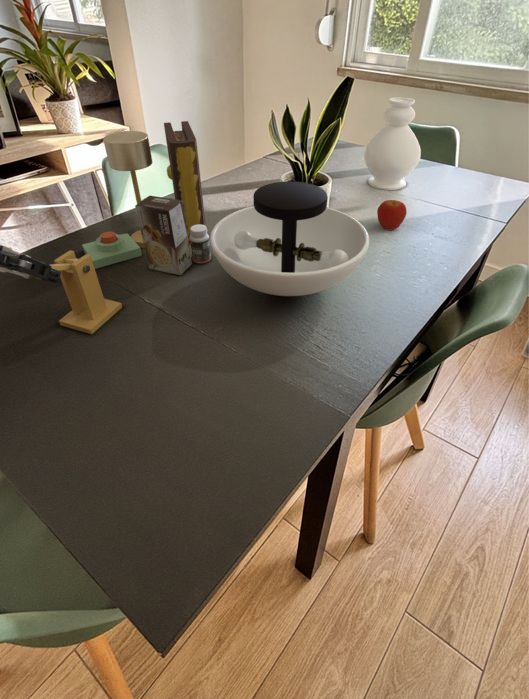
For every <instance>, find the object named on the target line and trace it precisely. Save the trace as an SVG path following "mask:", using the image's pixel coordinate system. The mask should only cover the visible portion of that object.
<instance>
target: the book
mask: <svg viewBox="0 0 529 699" xmlns="http://www.w3.org/2000/svg"><path fill="white" fill-rule="evenodd" d="M180 124H181V130H174V129H173V125H172V123H171V121H170V122H169V121H168V122H163V129H164V135H165V140H166V147H167V149H166V150H167V154H168V161H169V164H168V165H167V167H166V175H167V178H168V179H170V181H171V182H172V187H173V188H172V189H173V195H174V199H176V200H182V201H183V206H184V213H185V220H186V226H187V233H188V240H189V245H190V235H191V232H190V228H191V227H192V226H194V225H198V224H201V225H205V226H206V216H205V208H204V198H203V197H204V196H203V189H202V180H201V171H200V161H199V160H200V159H199V152H198V143H197V138H196V135H195V134H194V131H193V130H192V127H191V125H190V123H189V120H183V121H181V122H180Z"/></svg>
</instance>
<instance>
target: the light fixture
mask: <svg viewBox="0 0 529 699" xmlns="http://www.w3.org/2000/svg"><path fill="white" fill-rule="evenodd" d="M252 197H253V198H252V199H253V205H251V206H247V207H244V208H241V209H239V210H236V211H234V212H231V213H229V214H228V215H226V216H225V217H223V218H221V219H220V220H218V222H217V223H216V224H215V225H214V226H213V228H212V230H211V232H210V236H209V241H210V248H211V251H212V253H213V255H214V257H215V258H216V260H217V262H218V263H219V264H220V266H221V267H222V268H223V270H224V271H225V272H226V273H227V274H228V275H229V276H230V277H231V278H233V280H236V281H237V282H238V283H240V284H241V285H243V286H245V287H247V288H249V289H251V290H254V291H256V292H259V293H263V294H267V295H273V296H279V297H299V296H309V295H312V294H317V293H320V292H323V291H326V290H328V289H330V288H332V287H335V286H336V285H338V284H340V283H341V282H343V281H344V280H346V279H347V278H349V277H350V276H351V275H352V274H353V273H354V271H355V270H356V269H357V268H358V267H359V266H360V265H361V263H362V262H363V260H364V258H365V256H366V254H367V252H368V250H369V246H370V236H369V233H368V230H367V229H366V228H365V226H364V225H363V224H362V223H360V221H358V220H357V219H356V218H354V217H352V216H351V215H349V214H347V213H345V212H343V211H340V210H338V209H335V208H332V207H328V198H329V197H328V193H327V191H325V189H324V188H322V187H320V186H318V185H315V184H312V183H308V182H303V181H277V182H272V183H268V184H265V185H262V186H260V187H259V188H257V189H256V190H255V191H254V193H253V196H252Z"/></svg>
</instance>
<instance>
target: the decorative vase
mask: <svg viewBox="0 0 529 699" xmlns="http://www.w3.org/2000/svg"><path fill="white" fill-rule="evenodd" d="M415 102H416V100H415V99H414V98H411V97H404V96H395V97H390V98H389V99H388V103H389V104H390V106H388V107H387V108H386V109H385V110H384V112H383V119H384V120H385V121H386V123H387V124H385V125H384V126H382V128H381V129H379V130H378V131H377V132H376V133H375V134H374V135H373V136H372V138H371V139H370V140H369V141H368V142H367V145H366V146H365V150H364V153H363V159H364V163H365V165H366V167H367V169H368V171H369V172H370V174H371V175H372V176H371V177H369V178H368V179H367V180H368V181H367V182H368V185H369V186H371V187H373V188H375V189H377V190H378V189H379V190H384V191H397V190H401V189H404V188H405V187H406V186H407V181H406V180H405V178H406V177H407V176H408V175H409V174H411V173H412V171H414V170H415V168H417V166H418V164H419V163H420V160H421V154H422V150H421V146H420V143H419V140H418V138H417V137H416V134H415V132H414V131H413V130H412V129H411V127H410V125H409V124H411V123H412V121H413V120H414V119H415V118H416V111H415V109H414V108H413V107H412V105H414V104H415Z"/></svg>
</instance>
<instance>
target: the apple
mask: <svg viewBox="0 0 529 699" xmlns="http://www.w3.org/2000/svg"><path fill="white" fill-rule="evenodd" d="M376 216H377V221H378V224H379V226H380V227H381V228H382V229H384V230H388V231H393V230H396V229H398V228H400V226H401V225H402V224H403V222H404V221H405V219H406V216H407V206H406V205H405V203H404V202H402V201H400V200H395V199H387V200H384V201H382V202H381V203H380V204H379V206H378V207H377V211H376Z"/></svg>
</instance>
